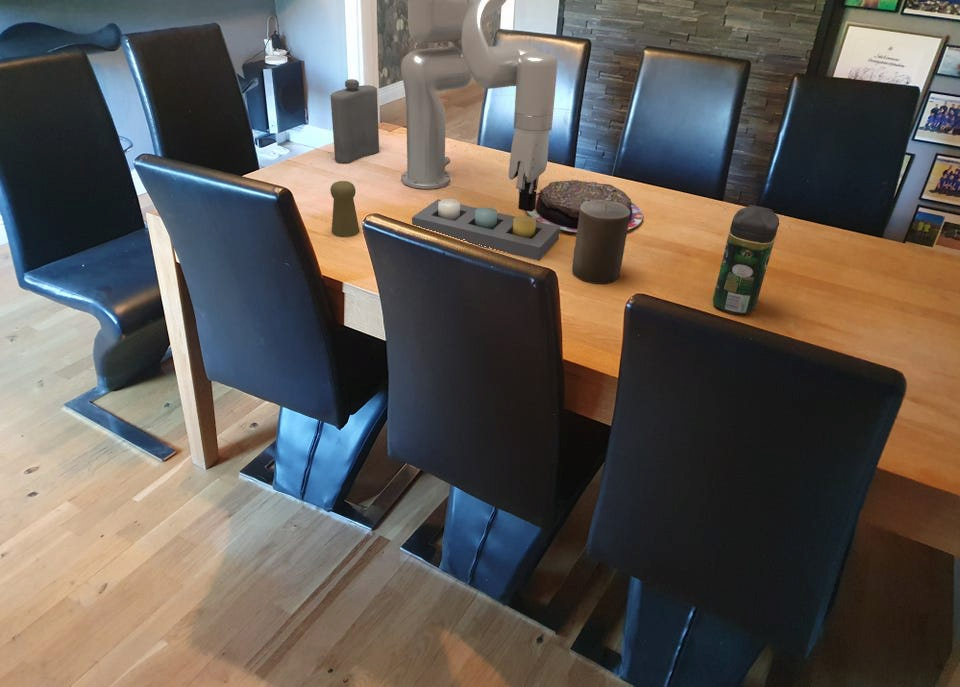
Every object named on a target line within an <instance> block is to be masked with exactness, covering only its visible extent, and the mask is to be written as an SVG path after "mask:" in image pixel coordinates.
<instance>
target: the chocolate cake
mask: <svg viewBox="0 0 960 687" xmlns="http://www.w3.org/2000/svg"><path fill="white" fill-rule="evenodd" d="M597 200H603V201H610V202H616V203H619V204H622V205H624V206H626V207H627V208H628V209H629V210H630V217H629V224H628V229H627V232H628V231H633V230H635V229H636V228H637V227H638V226H639V225H640V224H641V223H642V221H643V219H644V213H643V211H642V209H641V208H640V207H639V206H638V205H637V204H635V203H633V202H632V199H631V197H629V196H628V194H627V193H626V192H625V191H623V190H621V189H620V188H617V187H616V186H614V185H612V184H609V183H600V182H597V181H590V182H588V181H584V180H578V179H575V180H574V179H571V180H570V179H569V180H563V181H562V180H559V181H558V180H556V181H553V182H549V183H548V185H546V186H545V187H543V189H540V190H539V192H537V193H536V205H535V209H534V210H533V211H532V212H529V211H526V214H527V216H530V217H533V218H535V219H536V221H537V222H542V223H546V224H551V225H555V226H559V227H560V232H561V233H563V234H566V235H571V236H572V235H573V236H574V235H575V236H576V235H577V228H578V221H579V213H580V207H581V205H582V204H583V202H588V201H597Z"/></svg>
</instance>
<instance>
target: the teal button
mask: <svg viewBox="0 0 960 687" xmlns="http://www.w3.org/2000/svg"><path fill="white" fill-rule="evenodd" d="M477 208H478V209H476V210H475V226H479V227H483V228H487V229H492V230H493V229H494V228H495V227H496V226H497V213H498V210H497V209H495V208H493V207H487V206H483V207H477Z"/></svg>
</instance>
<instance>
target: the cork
mask: <svg viewBox="0 0 960 687" xmlns="http://www.w3.org/2000/svg"><path fill="white" fill-rule="evenodd" d="M329 190H330V195H331V198H333V203H332V204H333V205H332V206H333V207H332V220H331V222H332V223H331V234H332V235H333V236H335V237H339V238H351V237H355V236H358V234H359V233H360V232H361V231H360V225H359V220H358V215H357V211H356V205H355V200H354V197H355V196H356V190H357V189H356V187H355V185H354V184H353V183H352V182H351V181H347V180H339V181H336V182H333V183H332V184H331V186H330V189H329Z"/></svg>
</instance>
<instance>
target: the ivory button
mask: <svg viewBox="0 0 960 687" xmlns="http://www.w3.org/2000/svg"><path fill="white" fill-rule="evenodd" d="M440 200H441V201H439V202H438V217H440V218H445V219H449V220H453V221H456V220H457V219H458V218H459V217H460V204H461V202H460V201H459V200H457V199H453V198H444V199H440Z"/></svg>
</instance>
